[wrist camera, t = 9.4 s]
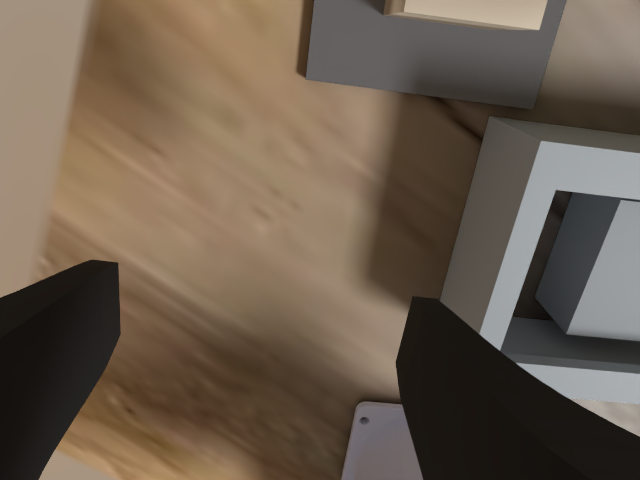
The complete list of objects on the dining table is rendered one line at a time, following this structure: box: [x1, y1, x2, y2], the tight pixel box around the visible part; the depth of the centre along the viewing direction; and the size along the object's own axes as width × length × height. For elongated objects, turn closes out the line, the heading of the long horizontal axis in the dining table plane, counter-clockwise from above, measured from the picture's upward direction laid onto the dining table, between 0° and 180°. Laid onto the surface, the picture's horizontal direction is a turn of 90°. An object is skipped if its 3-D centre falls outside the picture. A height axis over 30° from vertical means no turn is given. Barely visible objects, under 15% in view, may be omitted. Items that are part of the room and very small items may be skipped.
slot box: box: [440, 116, 640, 404], centre depth 19 cm, size 10×14×5 cm
